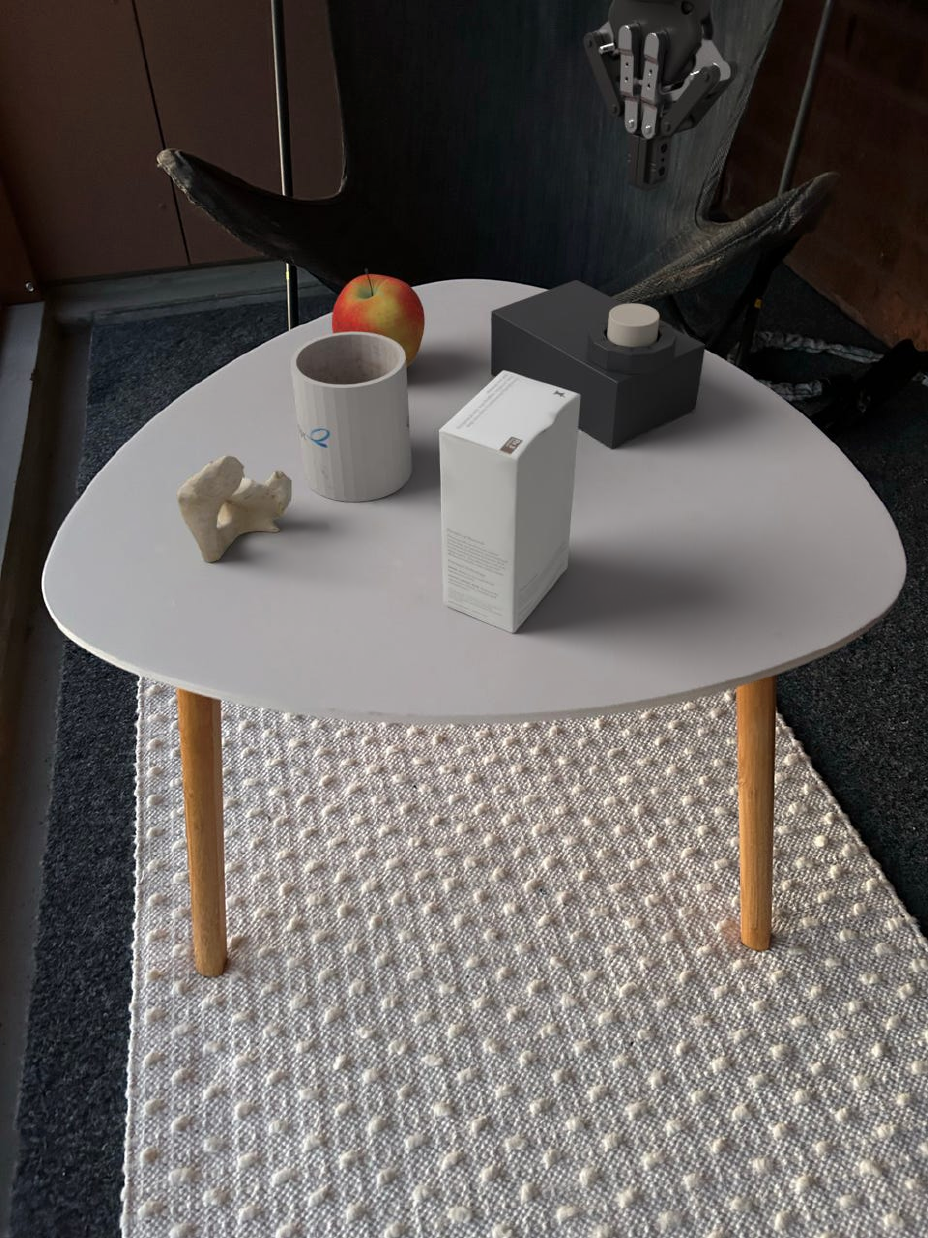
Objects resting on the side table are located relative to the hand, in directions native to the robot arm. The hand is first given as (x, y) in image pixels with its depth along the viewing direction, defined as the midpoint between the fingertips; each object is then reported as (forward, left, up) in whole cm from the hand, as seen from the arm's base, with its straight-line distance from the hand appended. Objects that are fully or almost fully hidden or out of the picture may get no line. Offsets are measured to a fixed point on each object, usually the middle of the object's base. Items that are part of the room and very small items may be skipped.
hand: (645, 185), depth 80 cm
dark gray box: (+4, -4, -20) cm, 21 cm away
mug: (+19, +13, -20) cm, 31 cm away
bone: (+23, +25, -20) cm, 40 cm away
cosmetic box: (+2, +25, -20) cm, 32 cm away
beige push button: (0, 0, -12) cm, 12 cm away
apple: (+23, -1, -20) cm, 31 cm away
